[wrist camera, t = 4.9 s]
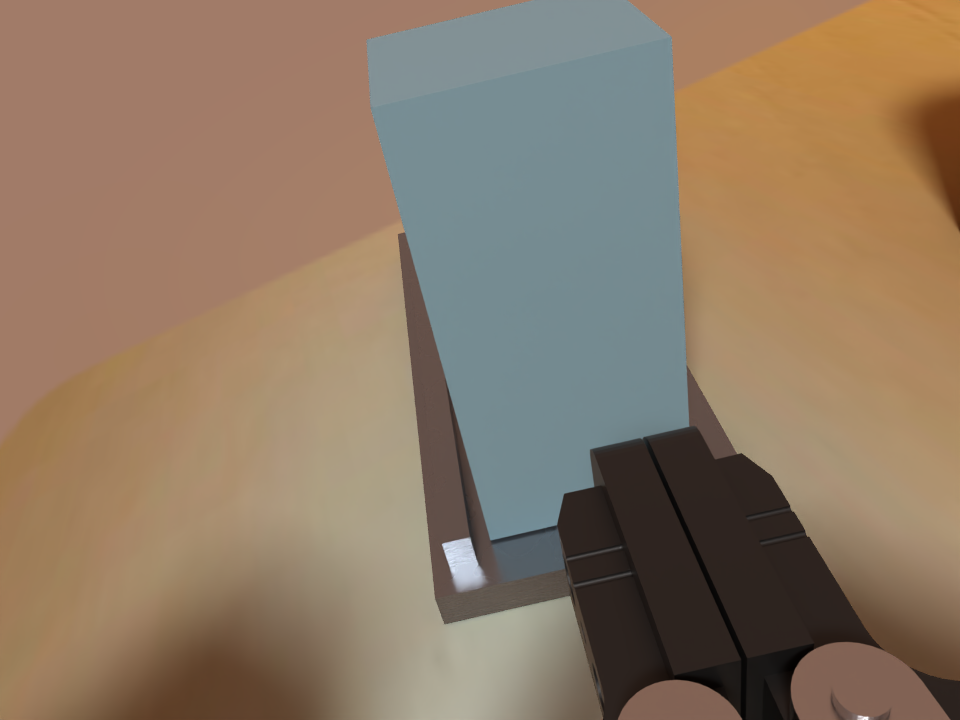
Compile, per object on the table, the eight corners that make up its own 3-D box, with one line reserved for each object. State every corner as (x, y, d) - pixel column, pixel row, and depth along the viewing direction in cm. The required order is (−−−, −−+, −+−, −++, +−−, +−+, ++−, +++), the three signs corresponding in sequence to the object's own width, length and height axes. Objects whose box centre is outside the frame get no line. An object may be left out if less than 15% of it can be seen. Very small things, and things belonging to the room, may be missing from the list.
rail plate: (773, 548, 23) (780, 400, 20) (444, 624, 23) (395, 489, 20) (589, 211, 41) (576, 103, 37) (404, 255, 41) (374, 151, 37)
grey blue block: (692, 493, 23) (671, 36, 16) (490, 540, 24) (370, 107, 16) (592, 283, 33) (549, -64, 25) (449, 317, 33) (362, -20, 25)
